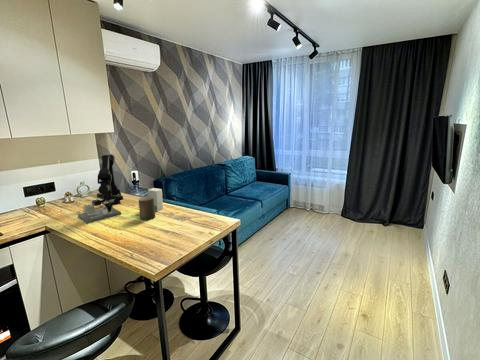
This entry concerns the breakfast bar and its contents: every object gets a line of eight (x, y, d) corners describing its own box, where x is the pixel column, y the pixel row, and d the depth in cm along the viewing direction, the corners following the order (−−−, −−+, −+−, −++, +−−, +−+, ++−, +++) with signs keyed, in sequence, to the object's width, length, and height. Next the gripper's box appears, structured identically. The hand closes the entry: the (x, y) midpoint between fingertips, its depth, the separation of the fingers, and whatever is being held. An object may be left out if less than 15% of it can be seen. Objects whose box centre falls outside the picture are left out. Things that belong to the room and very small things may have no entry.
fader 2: (106, 212, 180) (105, 207, 179) (107, 213, 178) (107, 208, 177) (102, 213, 178) (101, 208, 177) (104, 214, 176) (103, 209, 175)
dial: (93, 210, 185) (92, 203, 184) (95, 211, 183) (93, 204, 182) (84, 212, 181) (83, 205, 179) (85, 213, 179) (84, 206, 178)
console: (110, 208, 195) (110, 206, 194) (121, 214, 183) (120, 211, 182) (77, 217, 179) (77, 214, 179) (86, 223, 167) (86, 220, 167)
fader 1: (106, 209, 187) (106, 204, 186) (108, 210, 185) (107, 205, 184) (103, 210, 185) (102, 205, 184) (105, 211, 183) (104, 206, 182)
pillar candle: (155, 219, 173) (153, 197, 170) (139, 221, 170) (137, 199, 167) (155, 214, 182) (153, 193, 179) (140, 216, 179) (138, 195, 176)
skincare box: (148, 210, 190) (146, 189, 186) (154, 207, 196) (152, 187, 192) (158, 211, 187) (156, 191, 183) (163, 208, 193) (162, 188, 189)
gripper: (115, 185, 188) (118, 206, 192) (87, 191, 175) (90, 212, 179) (122, 188, 181) (124, 209, 185) (93, 194, 168) (96, 216, 171)
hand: (109, 211), depth 180 cm, fingers closed
